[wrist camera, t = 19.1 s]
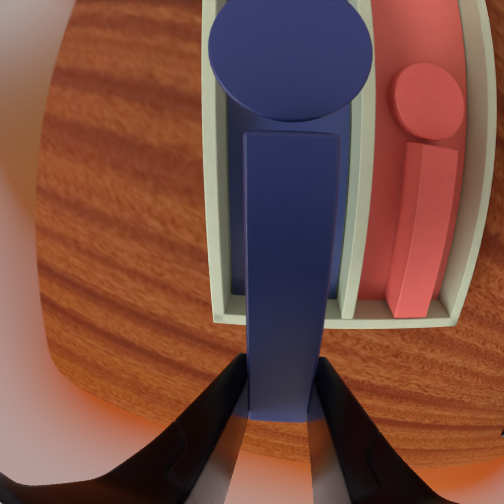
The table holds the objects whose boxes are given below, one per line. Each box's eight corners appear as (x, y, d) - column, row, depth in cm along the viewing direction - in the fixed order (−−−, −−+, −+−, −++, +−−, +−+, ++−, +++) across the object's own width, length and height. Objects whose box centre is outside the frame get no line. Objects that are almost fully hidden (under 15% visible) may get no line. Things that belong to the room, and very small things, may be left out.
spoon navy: (330, 375, 10) (335, 423, 8) (230, 370, 11) (219, 417, 9) (358, 2, 6) (378, -33, 4) (219, -1, 6) (195, -36, 4)
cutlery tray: (439, 302, 16) (455, 326, 14) (222, 297, 17) (213, 323, 15) (454, -27, 8) (474, -42, 6) (217, -56, 9) (206, -79, 7)
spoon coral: (426, 294, 15) (440, 317, 13) (367, 294, 15) (376, 318, 13) (452, 74, 10) (475, 69, 8) (386, 59, 11) (402, 49, 9)
